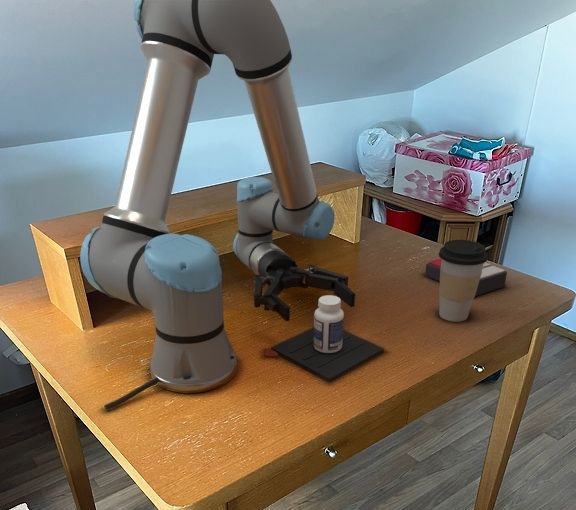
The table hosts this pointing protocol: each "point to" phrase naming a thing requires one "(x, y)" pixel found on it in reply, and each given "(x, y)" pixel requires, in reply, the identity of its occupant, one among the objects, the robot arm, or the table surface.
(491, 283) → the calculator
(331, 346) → the pill bottle
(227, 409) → the table surface
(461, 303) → the coffee cup
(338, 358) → the plate
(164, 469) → the table surface
